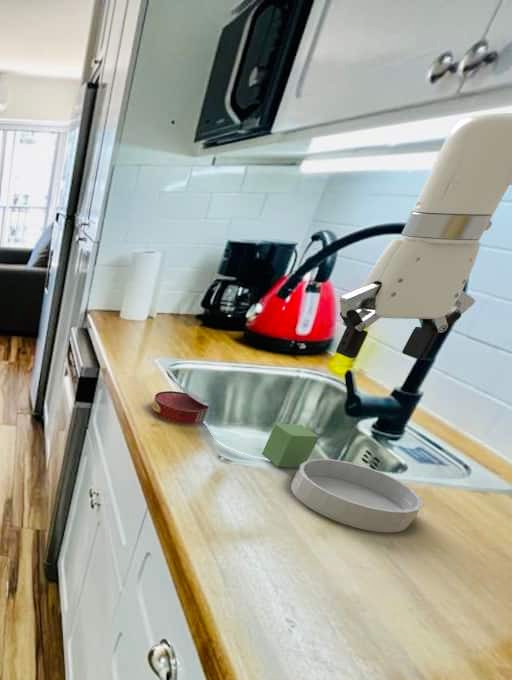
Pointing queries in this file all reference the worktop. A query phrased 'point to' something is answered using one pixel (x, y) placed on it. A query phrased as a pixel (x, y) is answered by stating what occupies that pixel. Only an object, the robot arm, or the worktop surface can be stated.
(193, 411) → the canned food
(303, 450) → the green block
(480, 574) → the worktop surface
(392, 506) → the basin
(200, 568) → the worktop surface
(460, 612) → the worktop surface
